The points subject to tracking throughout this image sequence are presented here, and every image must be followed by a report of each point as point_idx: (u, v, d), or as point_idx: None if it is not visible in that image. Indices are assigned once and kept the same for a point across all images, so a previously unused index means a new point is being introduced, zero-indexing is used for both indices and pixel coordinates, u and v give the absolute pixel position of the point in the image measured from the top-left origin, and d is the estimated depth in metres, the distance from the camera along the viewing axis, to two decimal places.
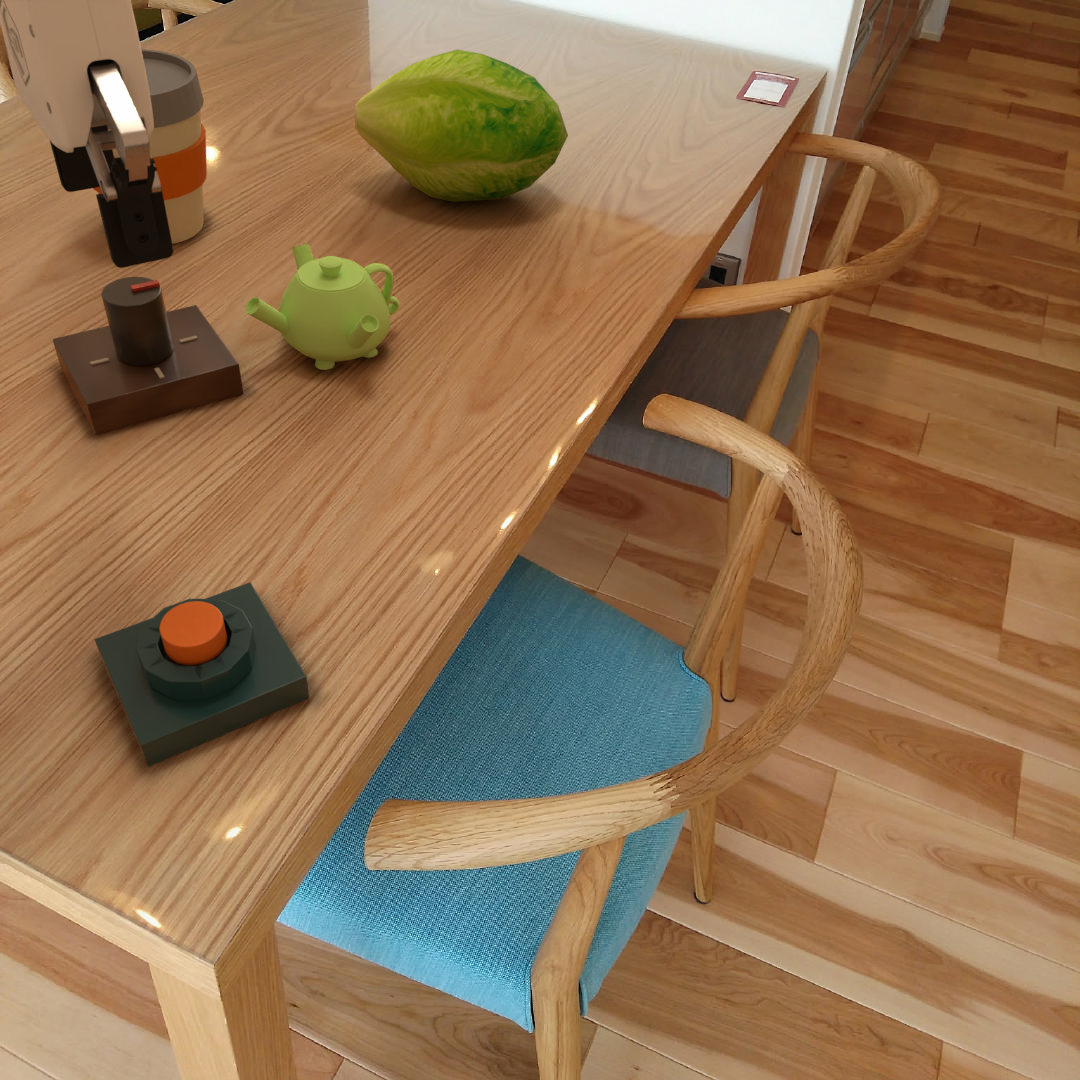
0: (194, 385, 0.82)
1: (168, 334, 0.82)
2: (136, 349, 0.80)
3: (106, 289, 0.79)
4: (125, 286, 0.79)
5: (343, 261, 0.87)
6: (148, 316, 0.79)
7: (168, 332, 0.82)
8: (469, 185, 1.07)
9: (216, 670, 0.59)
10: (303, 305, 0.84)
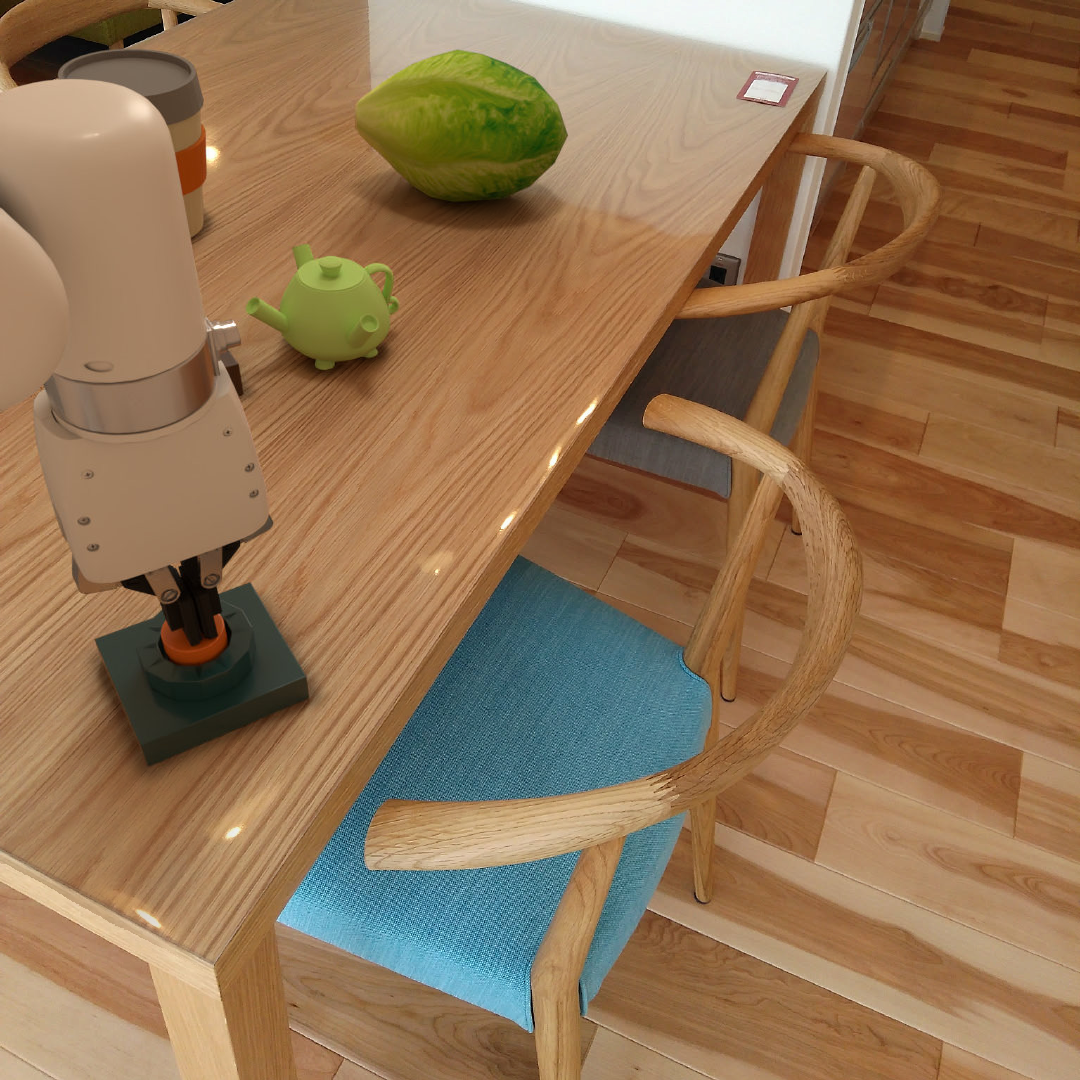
0: None
1: None
2: None
3: None
4: None
5: (343, 261, 0.87)
6: None
7: None
8: (469, 185, 1.07)
9: (216, 670, 0.59)
10: (303, 305, 0.84)
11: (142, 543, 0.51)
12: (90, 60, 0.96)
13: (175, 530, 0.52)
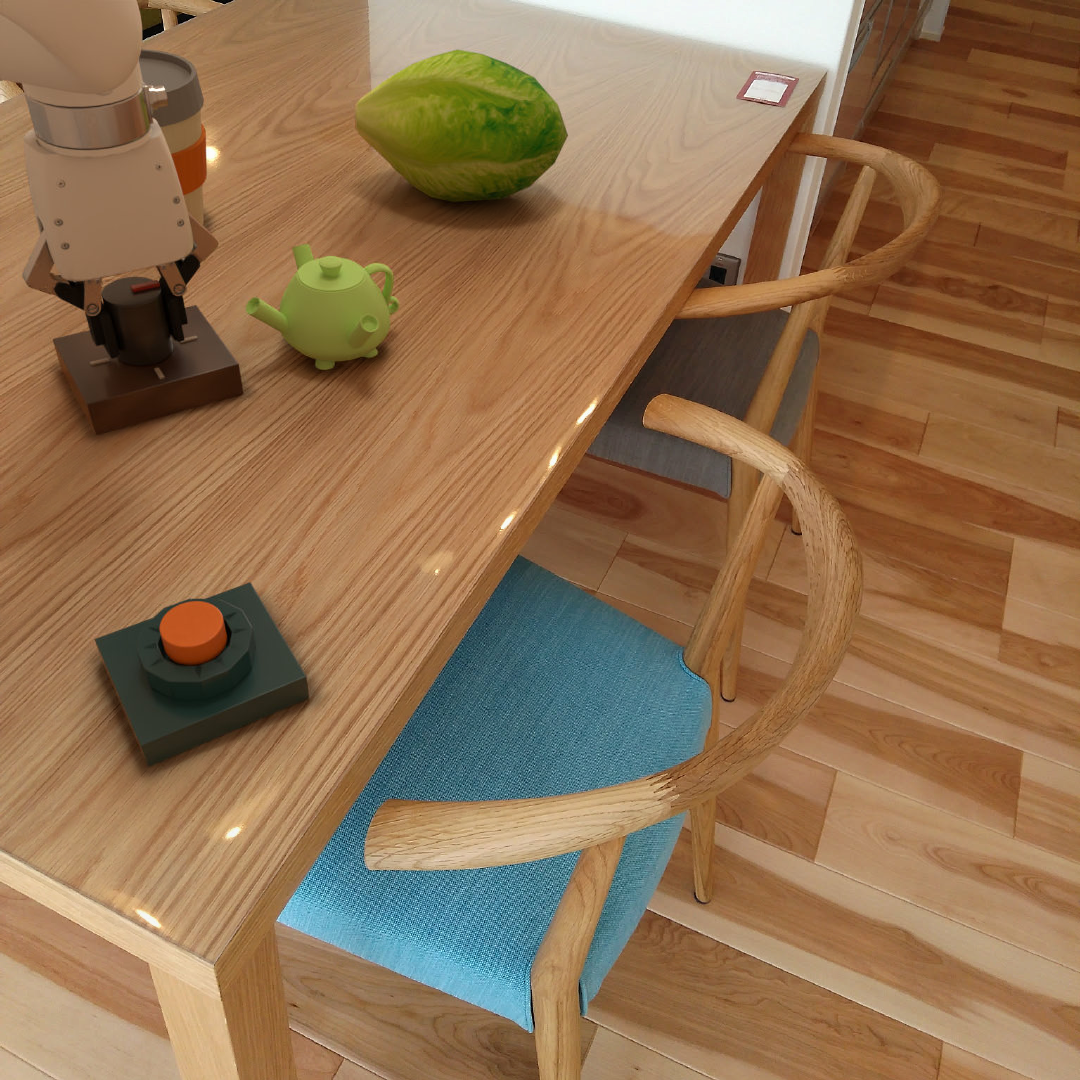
0: (194, 385, 0.82)
1: (168, 334, 0.82)
2: (136, 349, 0.80)
3: (106, 289, 0.79)
4: (125, 286, 0.79)
5: (343, 261, 0.87)
6: (148, 316, 0.79)
7: (168, 332, 0.82)
8: (469, 185, 1.07)
9: (216, 670, 0.59)
10: (303, 305, 0.84)
11: (99, 249, 0.73)
12: None
13: (123, 242, 0.74)
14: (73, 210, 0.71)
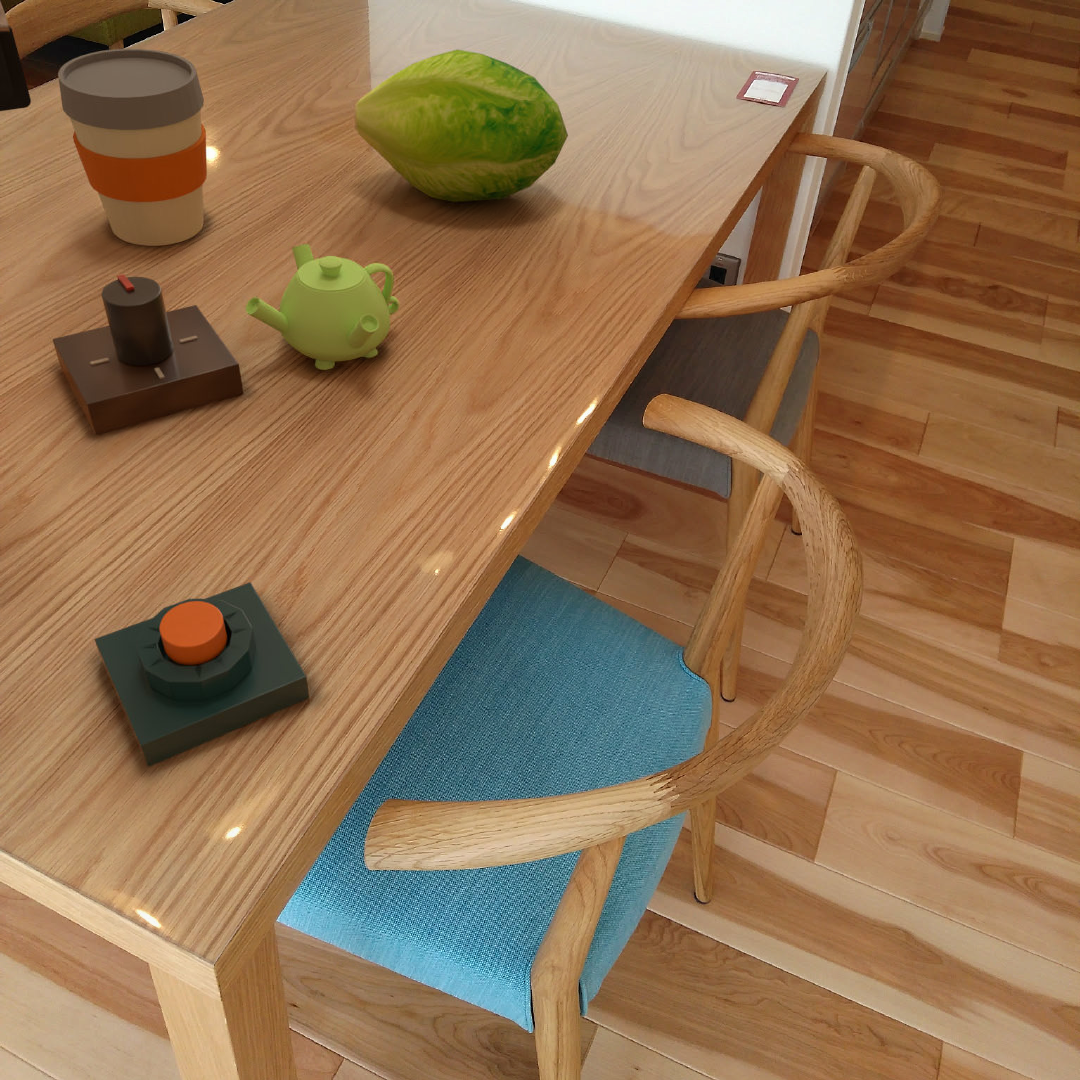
0: (194, 385, 0.82)
1: None
2: (169, 333, 0.82)
3: (126, 303, 0.78)
4: (122, 294, 0.79)
5: (343, 261, 0.87)
6: None
7: None
8: (469, 185, 1.07)
9: (216, 670, 0.59)
10: (303, 305, 0.84)
11: None
12: (90, 60, 0.96)
13: None
14: None
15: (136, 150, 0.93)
